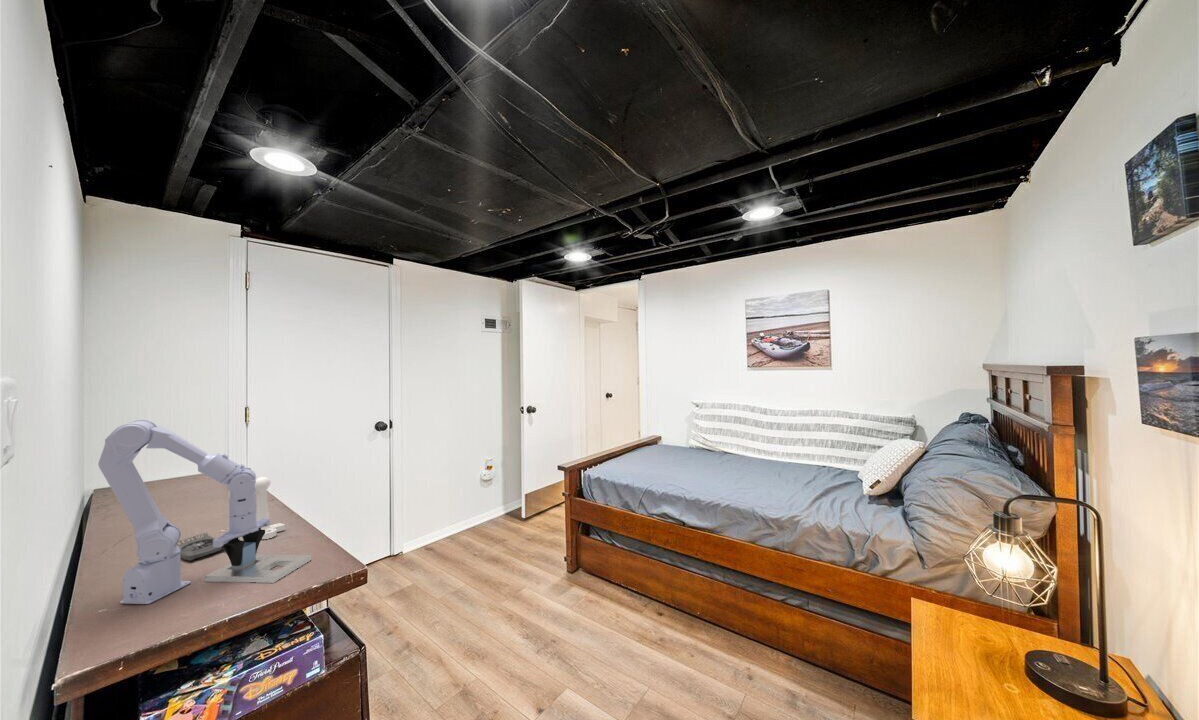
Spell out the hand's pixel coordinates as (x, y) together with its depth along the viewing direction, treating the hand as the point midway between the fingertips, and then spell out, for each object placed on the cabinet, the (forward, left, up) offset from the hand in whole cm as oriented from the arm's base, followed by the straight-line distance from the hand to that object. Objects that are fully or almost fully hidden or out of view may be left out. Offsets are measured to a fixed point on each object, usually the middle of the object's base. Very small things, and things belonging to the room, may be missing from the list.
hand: (243, 561), depth 111 cm
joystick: (+21, +15, -3) cm, 26 cm away
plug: (0, 0, -2) cm, 2 cm away
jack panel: (0, -5, -2) cm, 6 cm away
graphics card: (+9, +27, -3) cm, 28 cm away
